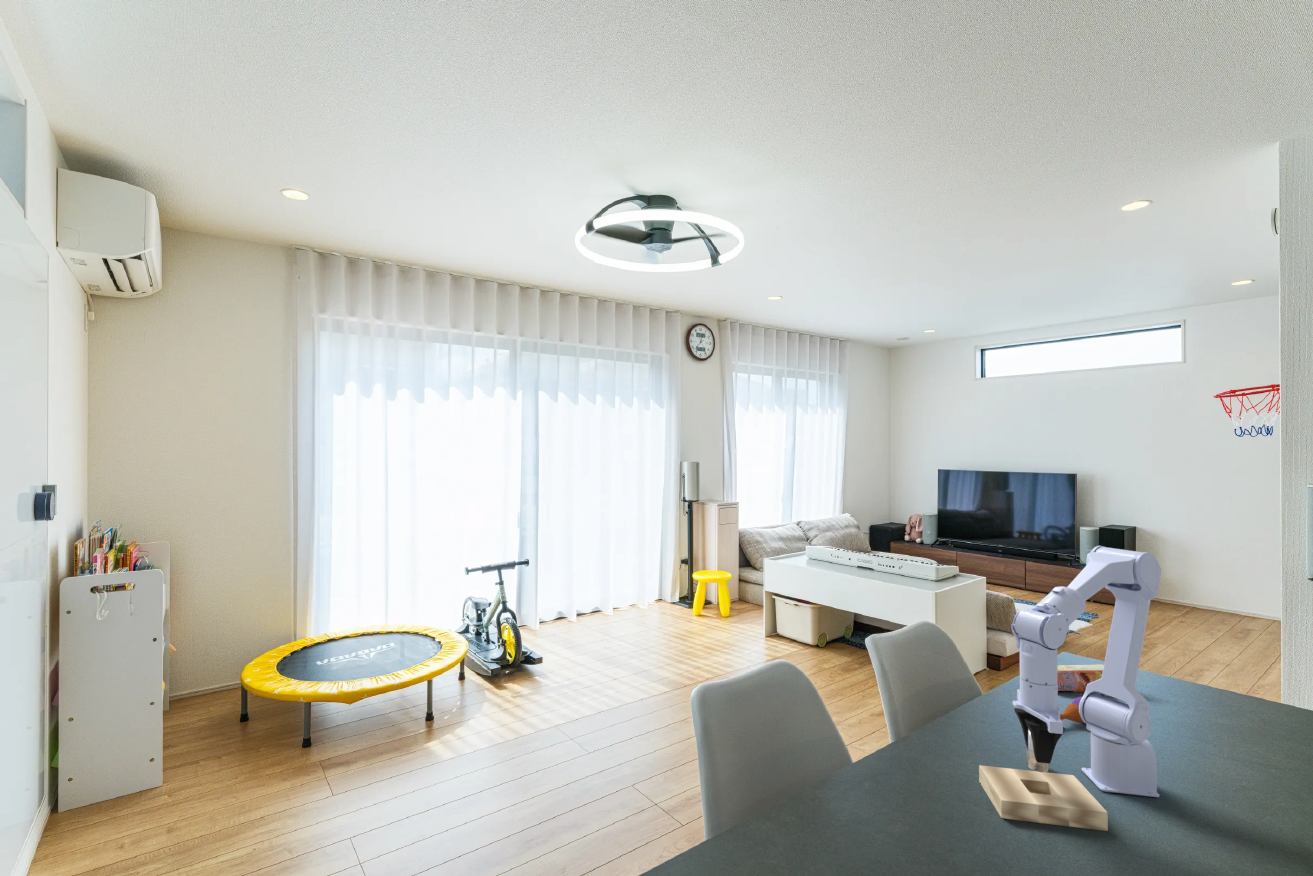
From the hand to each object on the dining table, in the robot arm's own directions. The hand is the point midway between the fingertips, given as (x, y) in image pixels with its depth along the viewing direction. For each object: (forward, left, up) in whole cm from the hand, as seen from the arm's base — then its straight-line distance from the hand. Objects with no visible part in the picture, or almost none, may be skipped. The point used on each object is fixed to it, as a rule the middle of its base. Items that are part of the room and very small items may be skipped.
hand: (1038, 757), depth 108 cm
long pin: (0, 0, -2) cm, 2 cm away
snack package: (-34, -62, -9) cm, 72 cm away
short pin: (-5, -15, -8) cm, 18 cm away
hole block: (0, 0, -8) cm, 8 cm away
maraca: (-19, -37, -9) cm, 42 cm away
